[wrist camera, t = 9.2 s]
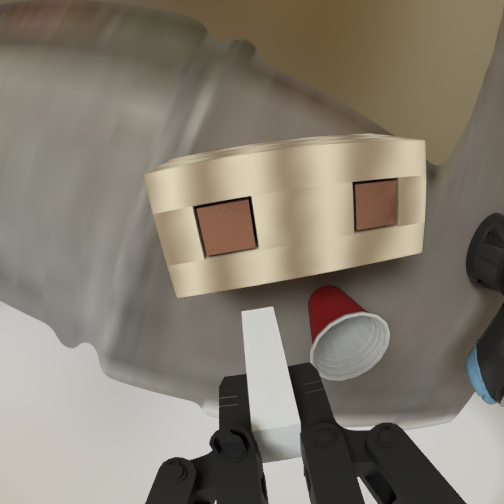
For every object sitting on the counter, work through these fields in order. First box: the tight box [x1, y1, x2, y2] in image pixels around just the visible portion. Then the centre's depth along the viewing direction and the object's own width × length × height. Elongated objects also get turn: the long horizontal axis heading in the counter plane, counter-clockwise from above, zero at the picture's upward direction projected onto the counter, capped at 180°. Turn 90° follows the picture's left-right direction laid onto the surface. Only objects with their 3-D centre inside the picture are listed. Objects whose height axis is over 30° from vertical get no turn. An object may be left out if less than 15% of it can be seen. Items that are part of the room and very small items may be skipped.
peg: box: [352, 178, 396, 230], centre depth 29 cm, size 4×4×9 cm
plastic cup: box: [308, 285, 390, 381], centre depth 38 cm, size 11×11×12 cm
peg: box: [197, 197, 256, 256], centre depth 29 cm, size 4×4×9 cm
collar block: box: [144, 134, 426, 298], centre depth 31 cm, size 26×12×12 cm, turn 98°
